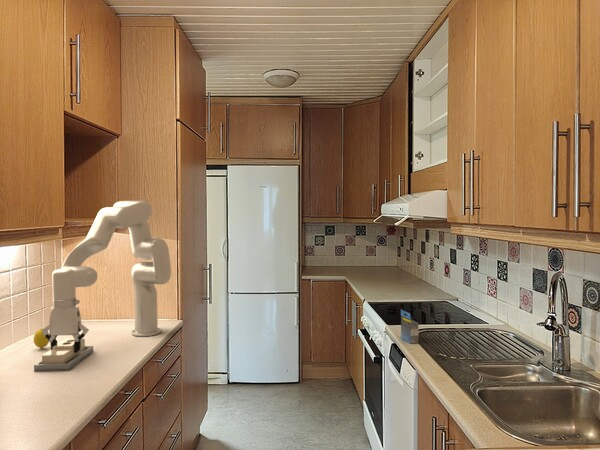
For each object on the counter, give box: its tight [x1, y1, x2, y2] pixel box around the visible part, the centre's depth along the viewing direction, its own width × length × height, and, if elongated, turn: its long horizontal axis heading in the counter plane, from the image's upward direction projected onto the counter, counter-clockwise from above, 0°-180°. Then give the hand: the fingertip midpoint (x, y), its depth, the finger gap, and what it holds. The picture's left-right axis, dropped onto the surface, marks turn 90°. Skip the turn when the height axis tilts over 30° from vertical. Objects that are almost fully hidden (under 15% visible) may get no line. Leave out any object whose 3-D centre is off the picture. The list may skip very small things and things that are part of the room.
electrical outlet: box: [41, 337, 86, 364], centre depth 180 cm, size 7×4×18 cm
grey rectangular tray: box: [33, 345, 94, 372], centre depth 181 cm, size 23×12×2 cm, turn 3°
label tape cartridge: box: [400, 309, 419, 345], centre depth 205 cm, size 9×4×12 cm, turn 15°
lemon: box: [33, 328, 50, 350], centre depth 196 cm, size 6×6×8 cm
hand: (65, 351), depth 181 cm, fingers closed on electrical outlet, 7 cm apart
